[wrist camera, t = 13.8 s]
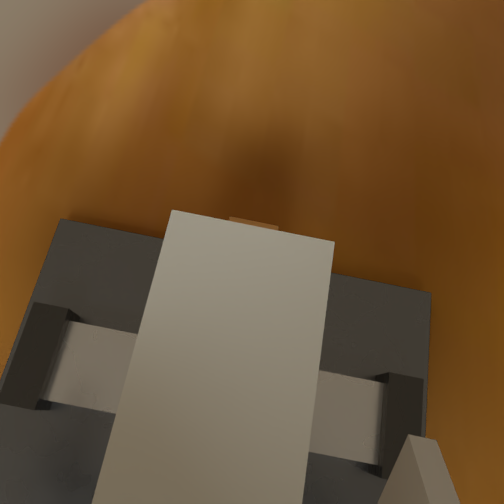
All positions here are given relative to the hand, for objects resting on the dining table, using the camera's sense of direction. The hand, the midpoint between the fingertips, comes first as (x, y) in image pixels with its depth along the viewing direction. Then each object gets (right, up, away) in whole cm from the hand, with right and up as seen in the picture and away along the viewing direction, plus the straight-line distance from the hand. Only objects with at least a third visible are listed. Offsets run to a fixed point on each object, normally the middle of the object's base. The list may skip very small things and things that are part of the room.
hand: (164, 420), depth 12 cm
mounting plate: (+1, -2, +10) cm, 10 cm away
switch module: (+1, -2, +9) cm, 9 cm away
